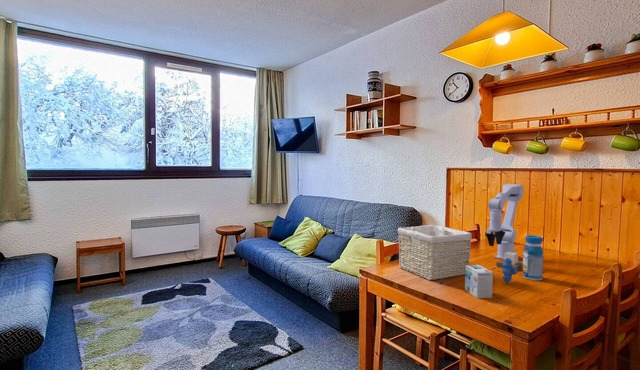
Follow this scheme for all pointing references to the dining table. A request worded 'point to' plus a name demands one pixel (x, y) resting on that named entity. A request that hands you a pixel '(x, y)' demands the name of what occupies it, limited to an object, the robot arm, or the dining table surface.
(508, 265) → the grapes
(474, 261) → the dining table surface
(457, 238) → the basket
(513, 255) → the off-white block
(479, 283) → the light bulb box
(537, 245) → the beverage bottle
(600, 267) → the dining table surface
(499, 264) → the walnut block
